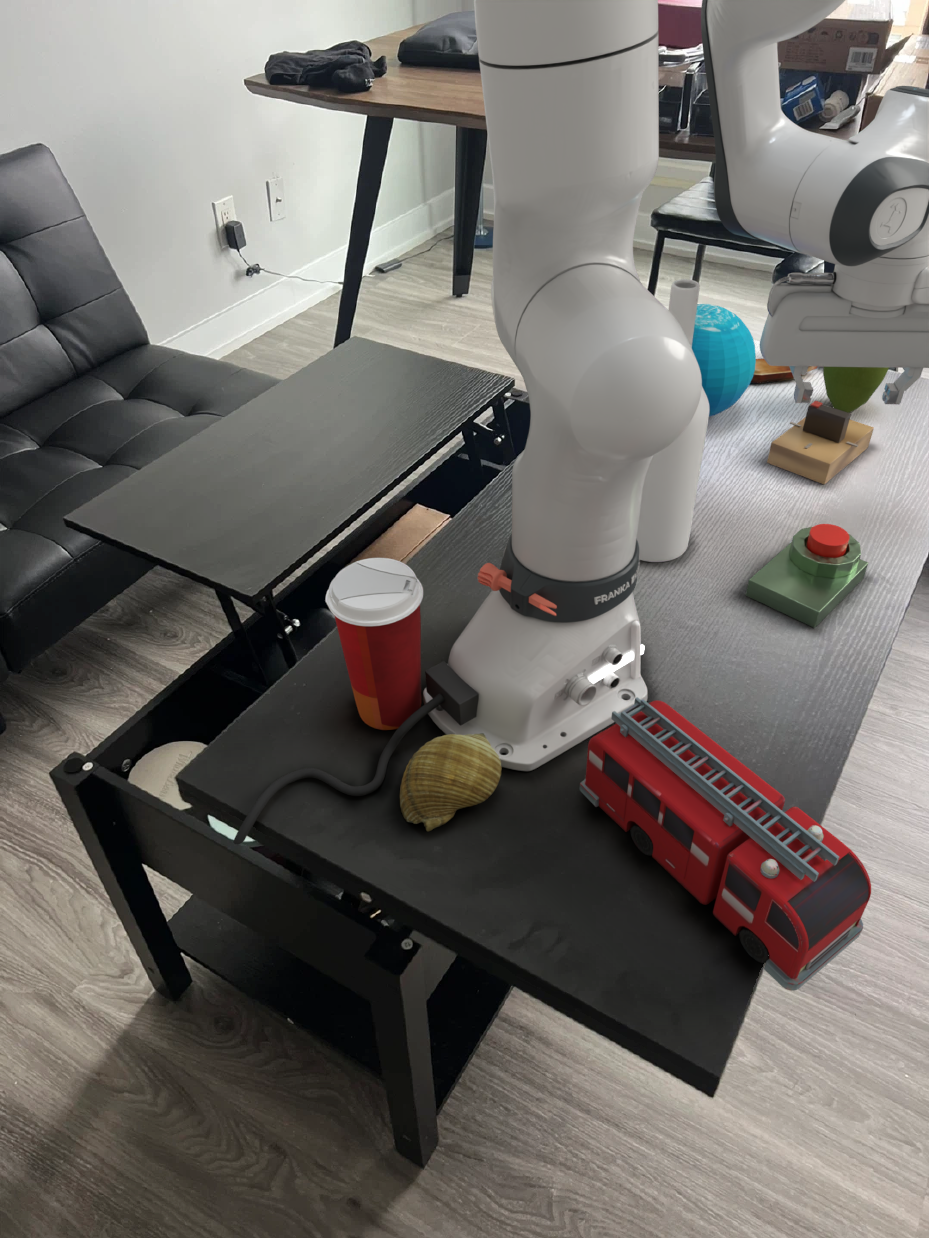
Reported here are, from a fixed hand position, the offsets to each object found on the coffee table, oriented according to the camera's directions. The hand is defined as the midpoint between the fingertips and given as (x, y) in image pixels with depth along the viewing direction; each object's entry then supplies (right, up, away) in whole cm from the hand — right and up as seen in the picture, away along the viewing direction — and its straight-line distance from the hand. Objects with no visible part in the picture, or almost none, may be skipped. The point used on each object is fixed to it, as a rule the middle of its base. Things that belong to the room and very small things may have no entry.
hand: (845, 401), depth 99 cm
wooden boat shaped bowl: (+4, +15, +35) cm, 38 cm away
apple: (+12, +6, +29) cm, 32 cm away
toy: (-22, -43, -26) cm, 55 cm away
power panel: (+5, -2, +20) cm, 20 cm away
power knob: (+5, 0, +18) cm, 18 cm away
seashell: (-43, -39, -20) cm, 61 cm away
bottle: (-20, -15, +7) cm, 26 cm away
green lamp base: (-5, -20, -1) cm, 21 cm away
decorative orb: (-9, +5, +30) cm, 32 cm away
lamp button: (-3, -16, -1) cm, 16 cm away
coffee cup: (-49, -32, -12) cm, 60 cm away
